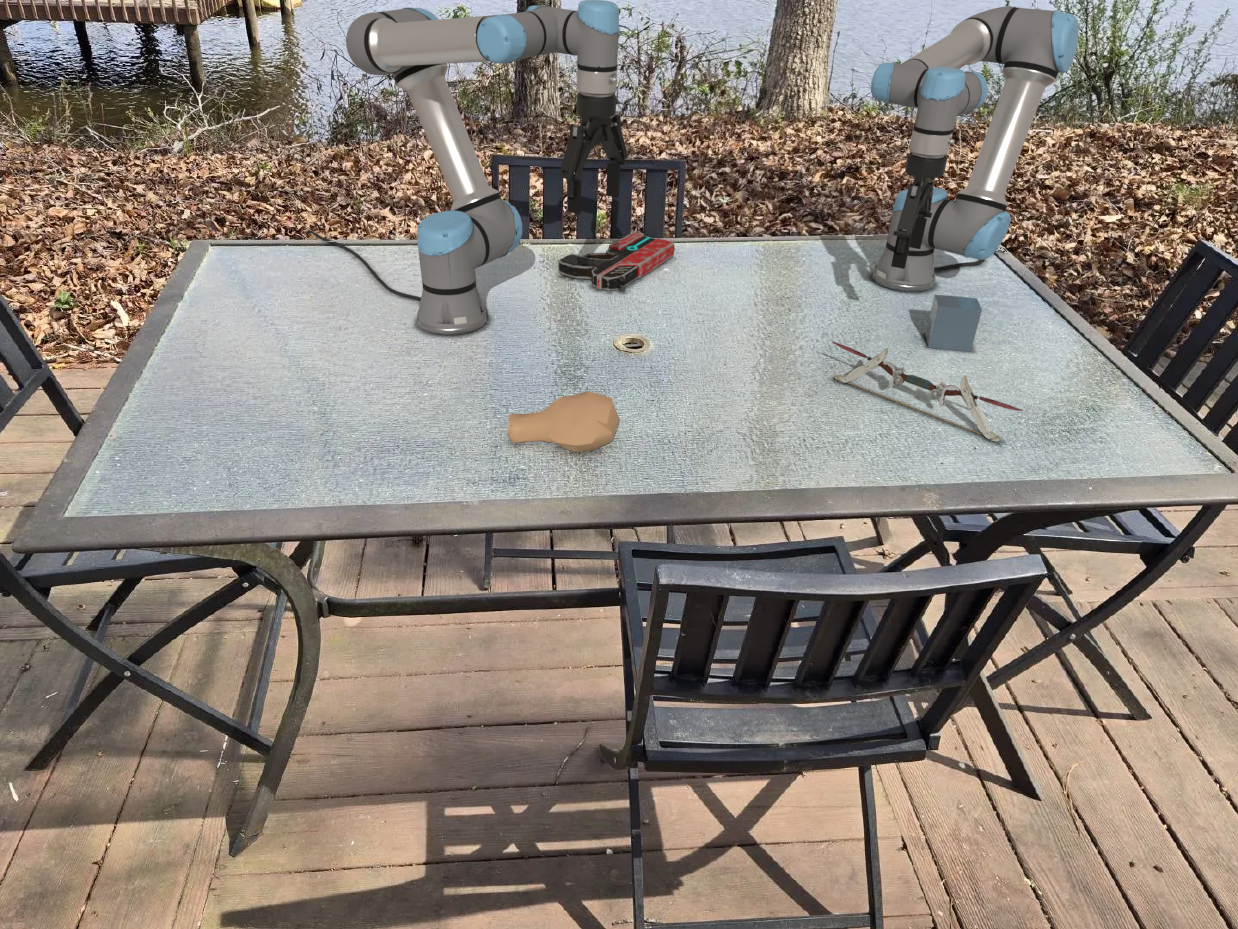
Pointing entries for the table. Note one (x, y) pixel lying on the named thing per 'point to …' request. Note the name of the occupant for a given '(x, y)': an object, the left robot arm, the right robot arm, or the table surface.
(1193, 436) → the table surface
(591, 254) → the gun
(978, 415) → the bow
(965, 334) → the grey rectangular block
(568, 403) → the squash
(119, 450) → the table surface
